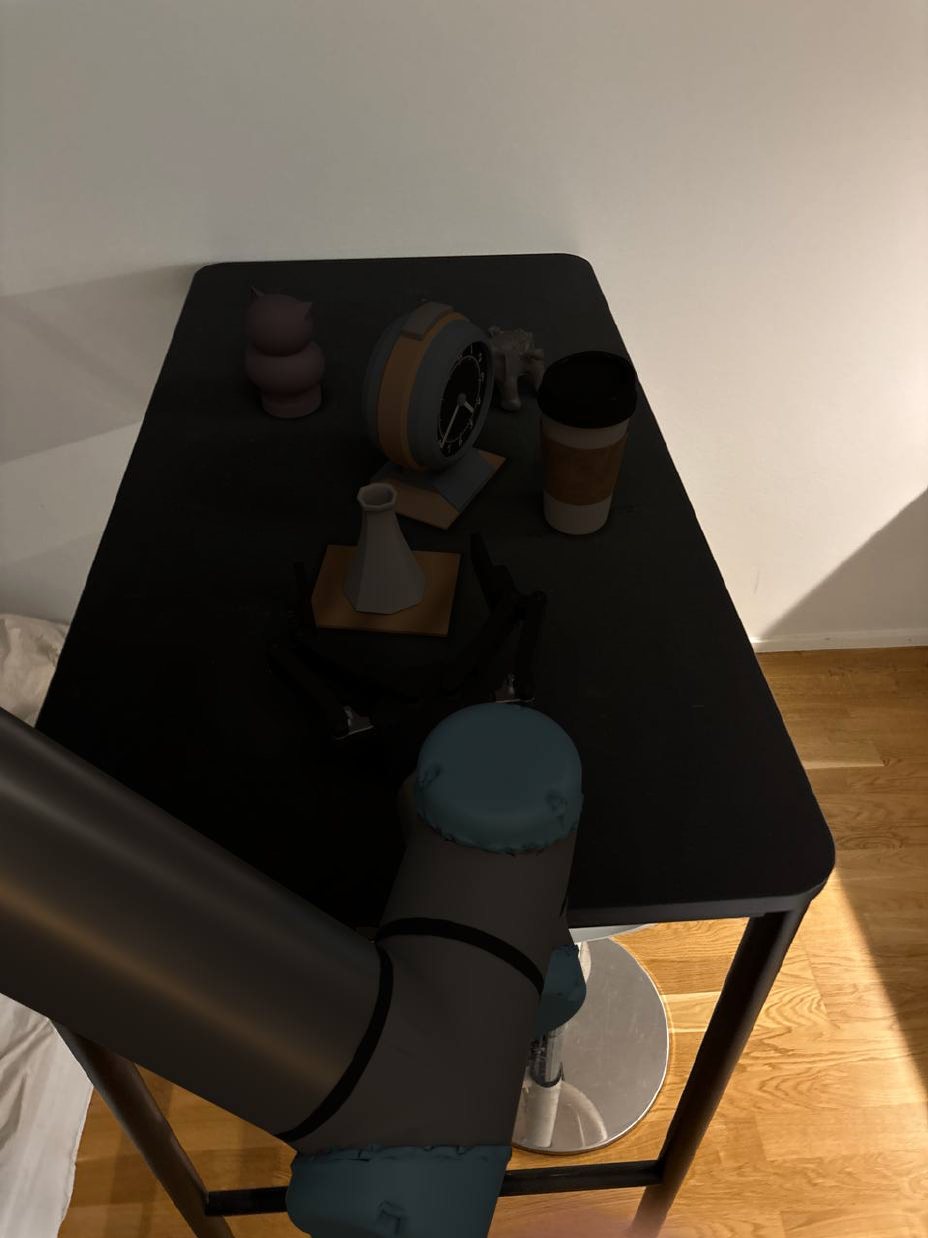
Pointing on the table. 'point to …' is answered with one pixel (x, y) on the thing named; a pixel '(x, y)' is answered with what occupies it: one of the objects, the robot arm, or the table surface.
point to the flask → (382, 558)
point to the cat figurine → (283, 354)
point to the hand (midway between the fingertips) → (388, 560)
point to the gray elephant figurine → (514, 362)
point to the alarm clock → (430, 411)
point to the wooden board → (415, 619)
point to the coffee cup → (583, 436)
